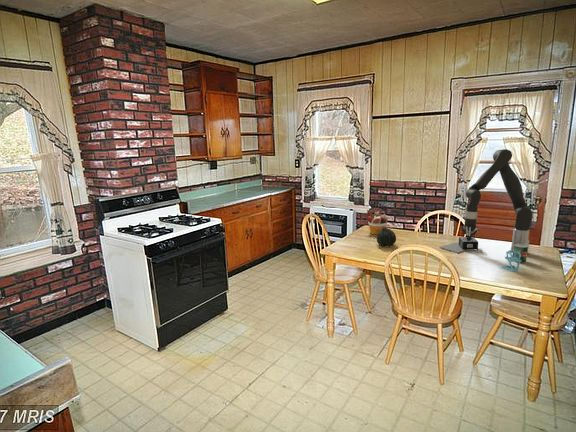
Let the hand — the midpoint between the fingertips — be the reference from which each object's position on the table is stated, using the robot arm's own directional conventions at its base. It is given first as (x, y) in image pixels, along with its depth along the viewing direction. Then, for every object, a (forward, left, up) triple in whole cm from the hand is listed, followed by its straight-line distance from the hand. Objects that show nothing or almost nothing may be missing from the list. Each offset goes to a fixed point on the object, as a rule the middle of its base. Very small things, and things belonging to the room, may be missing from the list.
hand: (468, 240), depth 250 cm
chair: (-35, +9, -8) cm, 37 cm away
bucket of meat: (+73, +19, -8) cm, 76 cm away
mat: (+9, 0, -8) cm, 12 cm away
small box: (-1, -2, -4) cm, 5 cm away
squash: (+44, +37, -8) cm, 58 cm away
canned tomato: (-30, -9, -8) cm, 33 cm away
